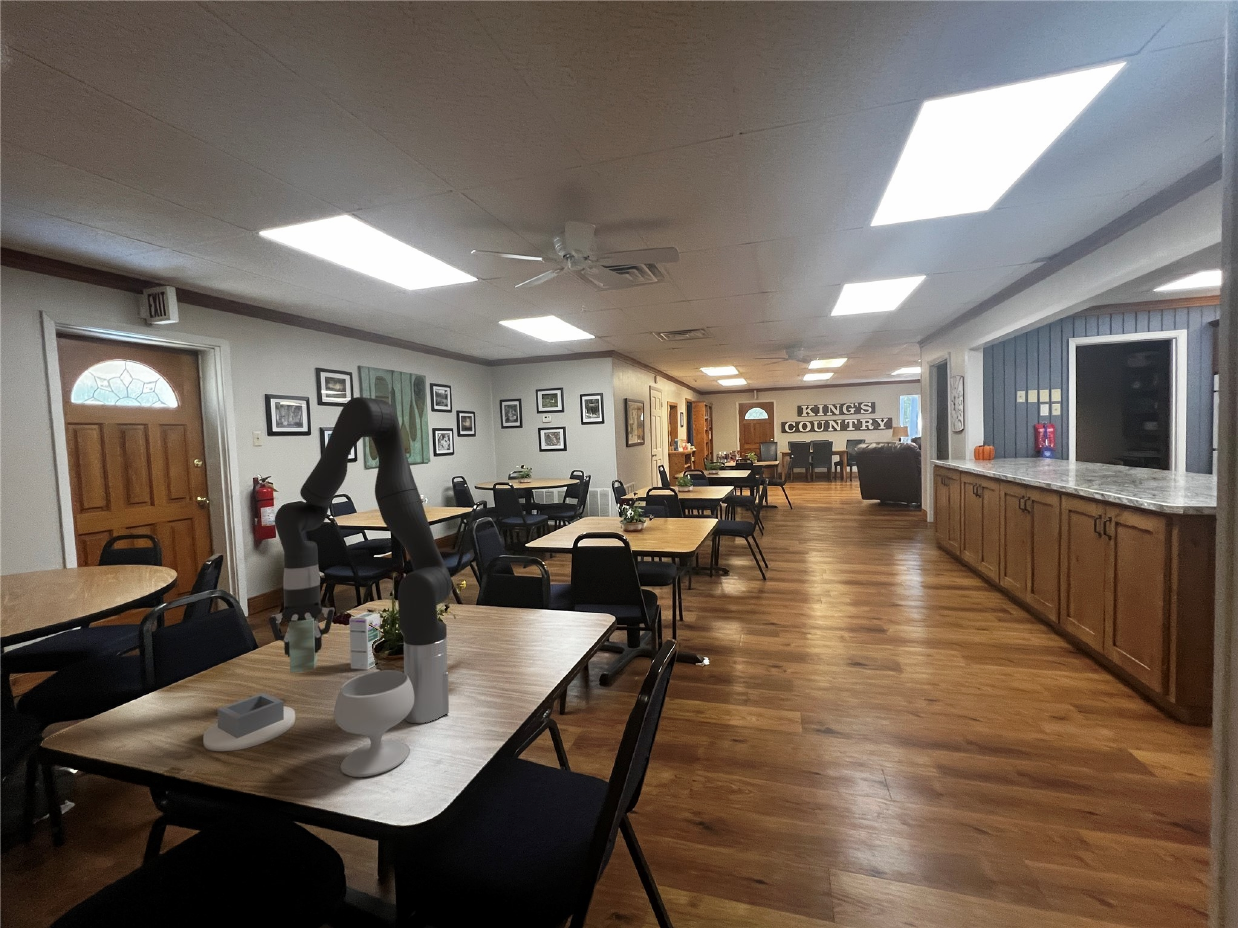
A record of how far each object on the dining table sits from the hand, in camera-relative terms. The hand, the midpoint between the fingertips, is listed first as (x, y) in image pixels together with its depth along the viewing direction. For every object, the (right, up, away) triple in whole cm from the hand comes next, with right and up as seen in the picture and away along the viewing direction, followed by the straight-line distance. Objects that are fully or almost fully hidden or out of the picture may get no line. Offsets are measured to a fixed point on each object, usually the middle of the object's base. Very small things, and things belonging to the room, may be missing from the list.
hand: (303, 653), depth 123 cm
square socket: (-2, -11, -14) cm, 18 cm away
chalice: (+30, -11, -26) cm, 41 cm away
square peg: (0, -3, 0) cm, 3 cm away
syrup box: (+5, -11, +21) cm, 24 cm away
